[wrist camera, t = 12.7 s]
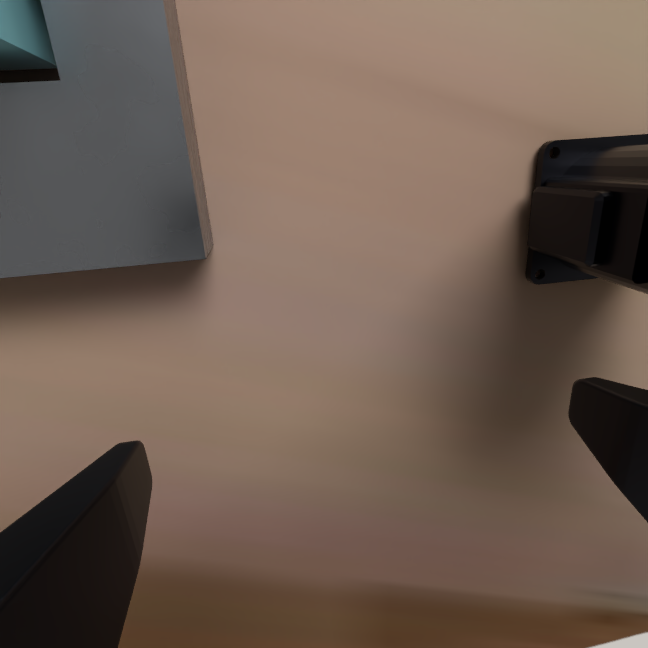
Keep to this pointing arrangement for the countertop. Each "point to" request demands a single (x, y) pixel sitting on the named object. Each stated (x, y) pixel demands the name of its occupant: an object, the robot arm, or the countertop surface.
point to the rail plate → (102, 146)
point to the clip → (24, 36)
